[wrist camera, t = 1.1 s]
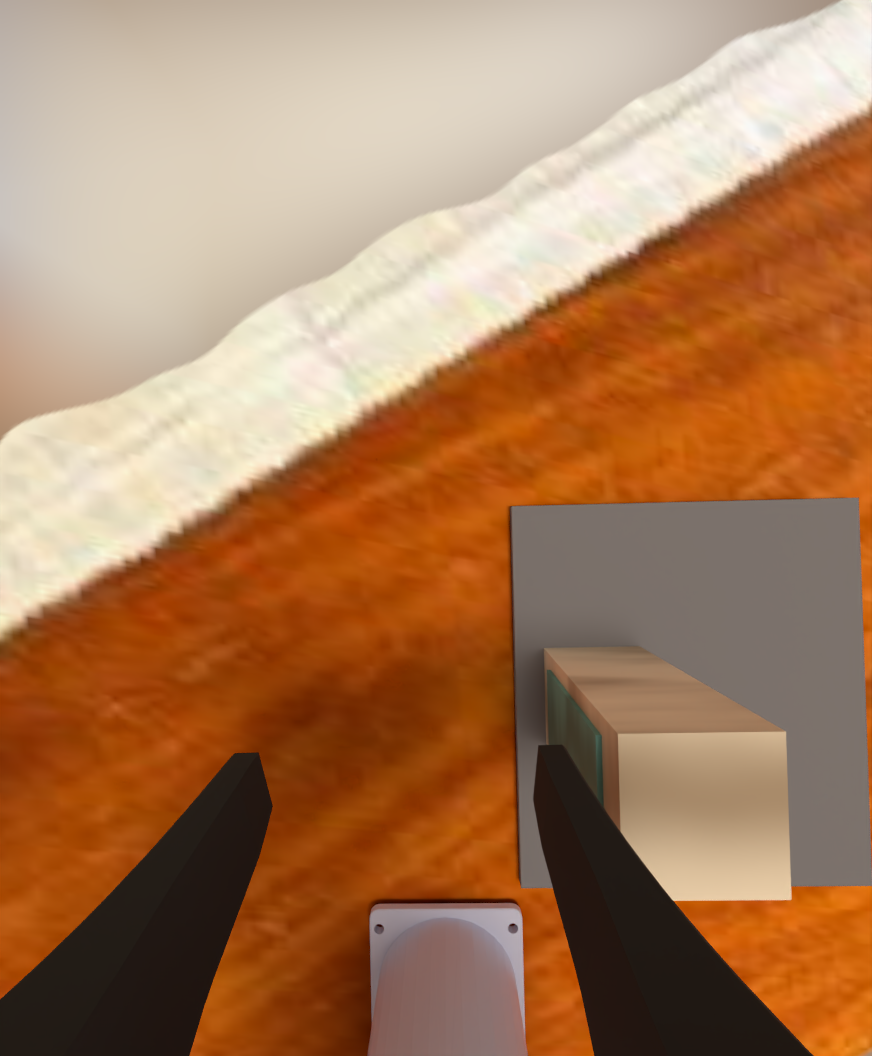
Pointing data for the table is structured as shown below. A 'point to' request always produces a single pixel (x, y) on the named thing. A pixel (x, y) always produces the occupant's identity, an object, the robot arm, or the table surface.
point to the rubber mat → (712, 640)
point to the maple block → (676, 770)
